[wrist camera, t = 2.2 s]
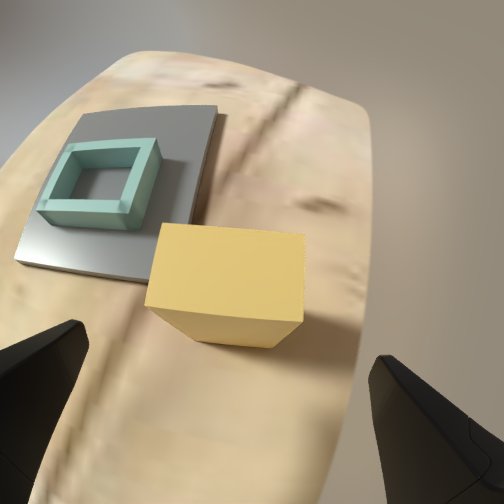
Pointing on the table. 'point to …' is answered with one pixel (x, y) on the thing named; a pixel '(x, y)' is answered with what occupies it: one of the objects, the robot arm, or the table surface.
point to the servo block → (228, 283)
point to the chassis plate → (118, 190)
